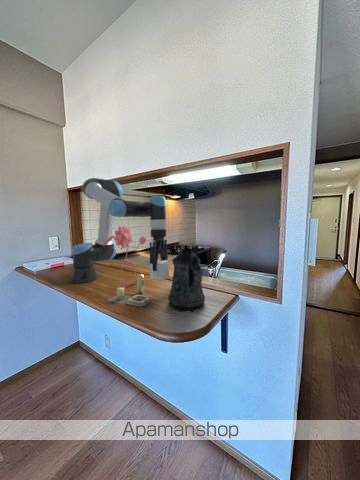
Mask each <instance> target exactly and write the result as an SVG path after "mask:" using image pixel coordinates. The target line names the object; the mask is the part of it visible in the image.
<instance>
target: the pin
mask: <svg viewBox="0 0 360 480" xmlns="http://www.w3.org/2000/svg"><path fill="white" fill-rule="evenodd" d="M136 275H137V281H136V287H137V290H136V292H137V294H138V295H144V294H145V275H144V274H143V273H138V274H136Z"/></svg>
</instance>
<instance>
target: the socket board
mask: <svg viewBox="0 0 360 480" xmlns="http://www.w3.org/2000/svg"><path fill="white" fill-rule="evenodd" d="M132 296H133V295H132ZM150 301H152V296H151V295H150V296H149V295H144V294H138V293H137V294H135V295H134V296H133V297H132V298H130V299H128V300H127V301H126V305H130V306H135V307H143V306H145V305H146V304H147V303H149V302H150Z"/></svg>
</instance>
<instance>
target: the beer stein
mask: <svg viewBox="0 0 360 480" xmlns="http://www.w3.org/2000/svg"><path fill="white" fill-rule="evenodd" d="M175 256H176V257H175V258H173V259H172V265H173V273H172V281H171V289H170V292H169V294H168V297H167V299H168V303H169V307H170V308H171V309H173V310H175V311H177V310H178V311H177V312H182V311H191V312H195V311H194V310H196V311H198V310H197V309H199V310H200V308H201V307H202V308H203V307H204V305H205V301H206V296H205V294H204V291H203V287H202V282H203V270H202V267H201V265H200V264H201V259H200V257H198V256H197V254H195V253H194V252H193V250H192V249H181V252H180V253H179V254H177V255H175ZM202 308H201V309H202Z"/></svg>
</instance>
